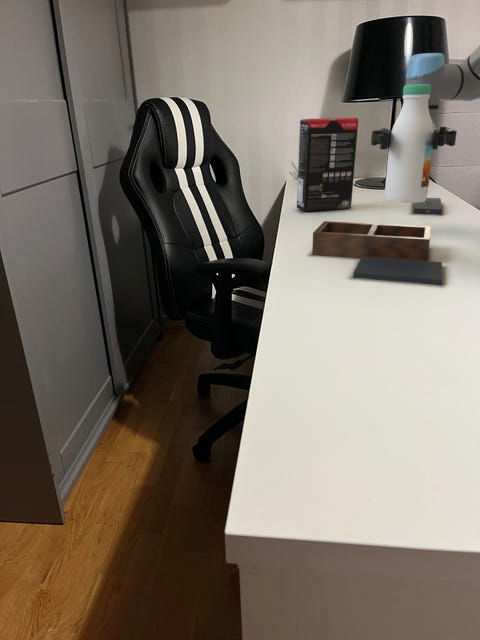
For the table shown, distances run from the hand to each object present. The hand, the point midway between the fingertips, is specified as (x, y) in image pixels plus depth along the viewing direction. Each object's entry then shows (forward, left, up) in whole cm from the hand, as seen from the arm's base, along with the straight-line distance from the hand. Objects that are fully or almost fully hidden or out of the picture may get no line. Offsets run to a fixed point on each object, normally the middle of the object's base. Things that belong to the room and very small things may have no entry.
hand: (410, 141), depth 87 cm
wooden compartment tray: (+7, -18, -25) cm, 31 cm away
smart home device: (-4, -74, -25) cm, 78 cm away
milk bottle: (0, -5, -11) cm, 12 cm away
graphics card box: (+27, -65, -25) cm, 74 cm away
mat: (0, -4, -25) cm, 25 cm away
